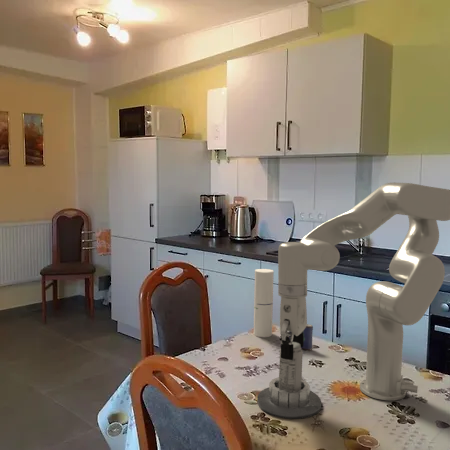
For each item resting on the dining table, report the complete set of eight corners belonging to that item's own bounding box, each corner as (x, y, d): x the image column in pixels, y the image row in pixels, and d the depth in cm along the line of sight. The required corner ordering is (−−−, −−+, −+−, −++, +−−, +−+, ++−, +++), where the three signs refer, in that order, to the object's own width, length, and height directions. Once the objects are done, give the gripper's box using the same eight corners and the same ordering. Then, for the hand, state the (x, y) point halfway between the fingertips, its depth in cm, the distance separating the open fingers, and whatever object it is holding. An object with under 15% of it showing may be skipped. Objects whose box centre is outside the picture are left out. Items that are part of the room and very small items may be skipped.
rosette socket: (327, 396, 134) (328, 378, 133) (312, 424, 118) (312, 404, 118) (269, 385, 141) (269, 367, 140) (247, 410, 125) (248, 391, 125)
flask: (313, 349, 171) (314, 320, 169) (309, 351, 168) (310, 322, 167) (290, 343, 176) (291, 315, 175) (286, 346, 174) (287, 317, 173)
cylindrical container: (266, 338, 182) (268, 273, 179) (250, 335, 185) (251, 271, 183) (275, 333, 188) (276, 270, 185) (258, 330, 191) (260, 268, 189)
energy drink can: (305, 399, 129) (307, 345, 128) (290, 405, 125) (292, 350, 124) (288, 391, 134) (290, 339, 132) (273, 397, 130) (275, 343, 128)
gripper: (297, 298, 117) (297, 366, 119) (314, 283, 133) (314, 343, 135) (268, 295, 120) (268, 361, 122) (288, 281, 136) (288, 340, 138)
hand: (292, 352), depth 128 cm, fingers open, 9 cm apart
